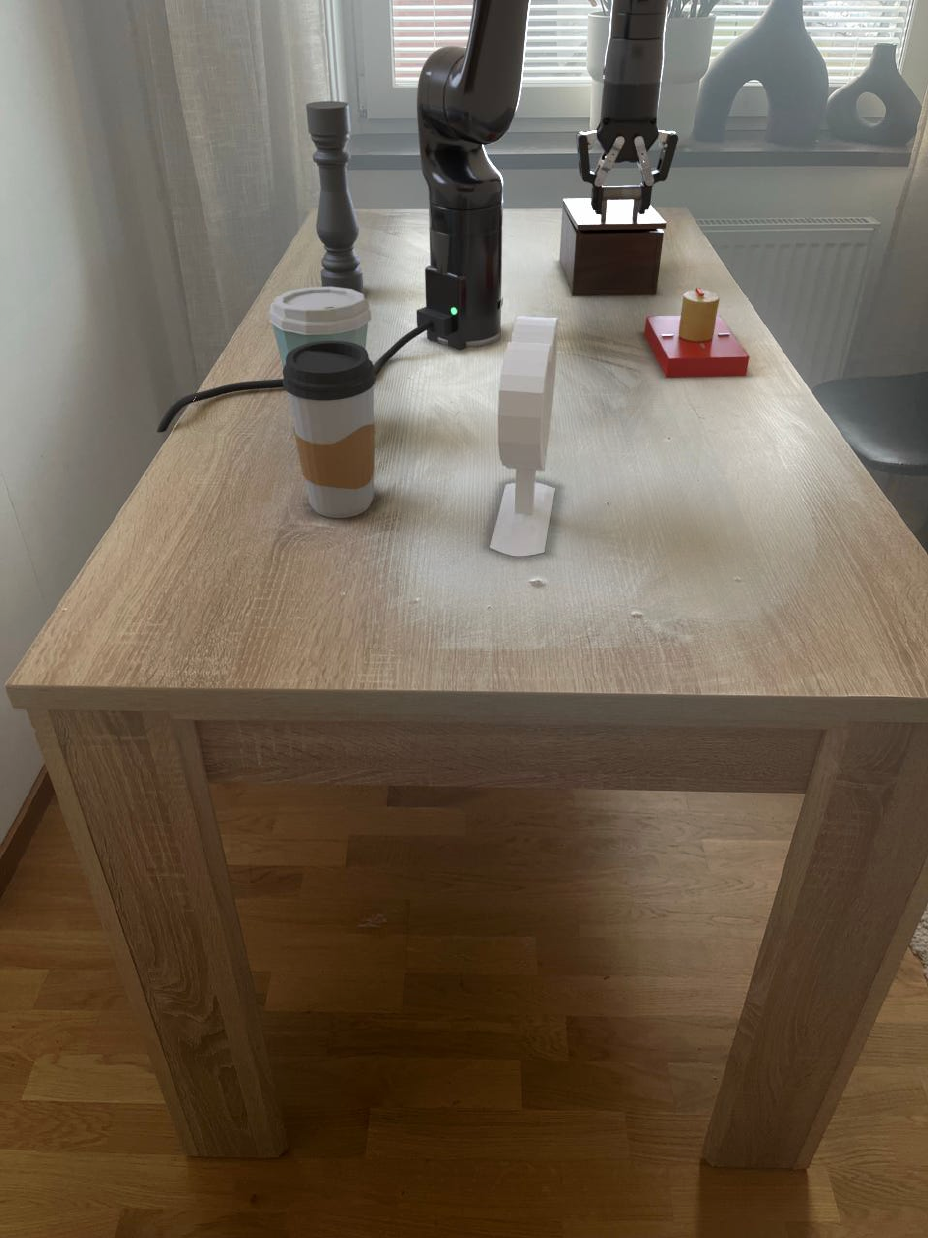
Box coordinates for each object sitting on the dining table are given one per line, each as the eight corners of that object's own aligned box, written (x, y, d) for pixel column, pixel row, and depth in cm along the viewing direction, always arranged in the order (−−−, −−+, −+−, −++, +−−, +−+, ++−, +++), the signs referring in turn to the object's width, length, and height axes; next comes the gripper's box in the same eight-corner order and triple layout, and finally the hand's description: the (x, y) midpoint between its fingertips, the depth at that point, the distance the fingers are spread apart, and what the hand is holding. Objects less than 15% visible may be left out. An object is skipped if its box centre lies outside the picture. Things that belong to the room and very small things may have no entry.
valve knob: (717, 341, 116) (724, 299, 113) (682, 341, 116) (688, 299, 113) (708, 328, 119) (715, 287, 116) (674, 328, 119) (680, 287, 116)
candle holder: (361, 300, 135) (347, 108, 120) (319, 300, 135) (300, 108, 120) (366, 286, 140) (353, 100, 125) (325, 286, 140) (307, 100, 125)
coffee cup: (342, 472, 95) (328, 331, 86) (401, 499, 91) (393, 353, 82) (281, 505, 90) (259, 359, 81) (341, 535, 86) (325, 384, 77)
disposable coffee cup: (274, 415, 106) (255, 283, 97) (364, 400, 109) (355, 271, 100) (295, 457, 98) (277, 318, 89) (391, 439, 101) (384, 303, 92)
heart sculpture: (542, 565, 82) (553, 373, 71) (486, 559, 83) (489, 369, 72) (556, 478, 94) (568, 303, 83) (508, 474, 95) (513, 300, 84)
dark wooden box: (656, 294, 137) (664, 232, 131) (572, 295, 137) (576, 233, 131) (636, 261, 149) (642, 203, 144) (559, 262, 149) (562, 204, 143)
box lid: (665, 228, 130) (670, 188, 127) (577, 230, 130) (579, 190, 127) (642, 202, 144) (646, 166, 141) (562, 204, 143) (564, 167, 140)
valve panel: (746, 375, 114) (750, 355, 112) (665, 377, 114) (668, 356, 112) (717, 333, 125) (720, 313, 123) (643, 334, 125) (646, 315, 123)
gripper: (582, 81, 118) (572, 221, 128) (693, 80, 118) (675, 219, 129) (574, 73, 124) (566, 206, 134) (680, 72, 124) (664, 205, 135)
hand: (619, 212), depth 131 cm, fingers closed on box lid, 5 cm apart
